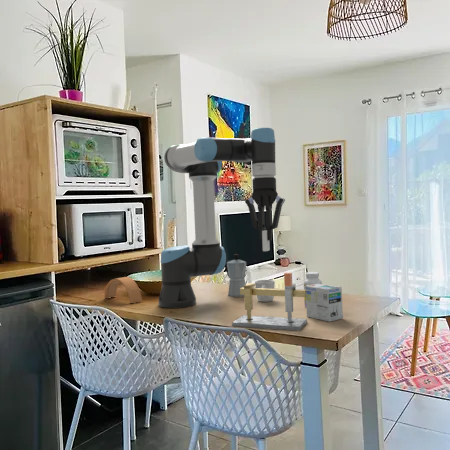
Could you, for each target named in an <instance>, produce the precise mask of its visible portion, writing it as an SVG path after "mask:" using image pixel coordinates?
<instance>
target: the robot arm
mask: <svg viewBox="0 0 450 450" xmlns="http://www.w3.org/2000/svg"><path fill="white" fill-rule="evenodd" d="M250 131H251V132H250V137H249V138H231V137H230V138H225V137H224V138H221V137H209V136H208V137H199V138H198V139H197V140H196V141H195V142H191V143H188V144H186V143H182V144H181V143H180V144H174V145H171V146H170V147H168V148H167V149H166V150H165V153H164V156H163V157H164V163H165V164H166V166H167V168H168V169H170V170H171V171H172V172H175V173H181V174H188V179H189V180H191V181H192V189H193V191H192V193H193V194H192V195H193V215H194V233H195V234H194V237H195V238H194V239H195V240H194V241H192V243H191V246H192V247H191V248H190V246H189V245H187V244H186V245H184V244H183V245H176V246H172V247H167V248H165V249H163V250H162V251H161V252H160V265H161V266H160V267H161V269H160V271H161V290H160V293H159V296H158V307H161V308H164V309H165V308H166V309H178V308H187V307H192V306H195V305H196V304H197V297H196V295H195V292H194V289H193V287H192V281H191V280H192V279H191V278H192V277H193V278H194V277H203V276H213V275H218V274H220V273H222V272H223V270H224V269H225V263H226V262H227V254H226V251H225V248H224V246H222V245H221V243H220V241H219V239H217V235H216V234H217V233H216V232H217V231H216V209H215V207H216V206H215V187H214V185H215V184H214V181H215V180H216V179H217V177H218V173H220V172H221V170H222V165H223V162H237V163H242V164H243V163H249V162H251V171H252V172H251V173H252V175H251V176H252V177H253V179H252V193H251V196H250V197H249V198H247V199H245V200H244V203H245V204H246V206H247V207H248V211H249V215H250V219H251V220H250V221H251V223H252V227H253V228H254V229H256V230H258V231H259V241H262V242H261V243H262V252H268V251H270V250H271V248H270V246H271V245H270V242H271V241H272V240H273V230H274V229H277V228H278V227H279V223H280V217H281V212H282V208H283V205H284V203H285V202H286V199H285V198H283V197H281V196H279V193H278V192H277V179H276V175H277V170H276V169H277V168H276V166H277V165H276V137H275V130H274V129H273V128H272V127H257V128H253V129H252V130H250ZM254 203H255V204H256V205H257V210H258V212H256V207H255V205H254ZM274 203H276V205H275V208H274V215H273V204H274ZM257 213H258V214H257ZM257 215H258V216H257ZM265 220H266V221H265ZM265 224H266V225H265ZM265 226H266V227H265Z"/></svg>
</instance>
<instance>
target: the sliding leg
mask: <svg viewBox="0 0 450 450" xmlns="http://www.w3.org/2000/svg"><path fill="white" fill-rule="evenodd" d="M283 274H284V276H283V277H284V278H283V280H284V289H285V296H284V304H285V309H284V310H285V312H286V313H287V318H288V321H292V318H293V316H292V313H293V312H294V297H293V289H297V288H296V282H294V283H293V272H284V273H283Z"/></svg>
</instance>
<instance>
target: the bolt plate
mask: <svg viewBox="0 0 450 450" xmlns="http://www.w3.org/2000/svg"><path fill="white" fill-rule="evenodd" d="M307 323H308V319H307V318H300V317H299V318H296V317H292V321H288V317H283V316H282V317H279V316H263V315H251V319H247V314H246V315H241V316H240V317H239V318H237V319H235V320H234V321H232V323H231V324H232V325H231V326H232V327H242V328H244V327H245V328H257V329H268V328H270V330H271V329H272V330H283V329H285V330H284V331H297V330H299V331H301V330H302V329H303V327H305V326H306V324H307Z"/></svg>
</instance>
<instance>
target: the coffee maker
mask: <svg viewBox="0 0 450 450" xmlns="http://www.w3.org/2000/svg"><path fill="white" fill-rule="evenodd" d="M239 257H240V255H239V253H238V254H237V253H235V254H233V258H234V259H231V260H226V263H225V266H224V269H225V272H226V275H227V277H228V278H229V285H228V291H227V292H228V294H227V296H228V297H231V298H243V297H244V295H240V288H244V285H247V283H246V280H245V278H246V272H247V271H246V270H247V261H245V260H242V259H239Z"/></svg>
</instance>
